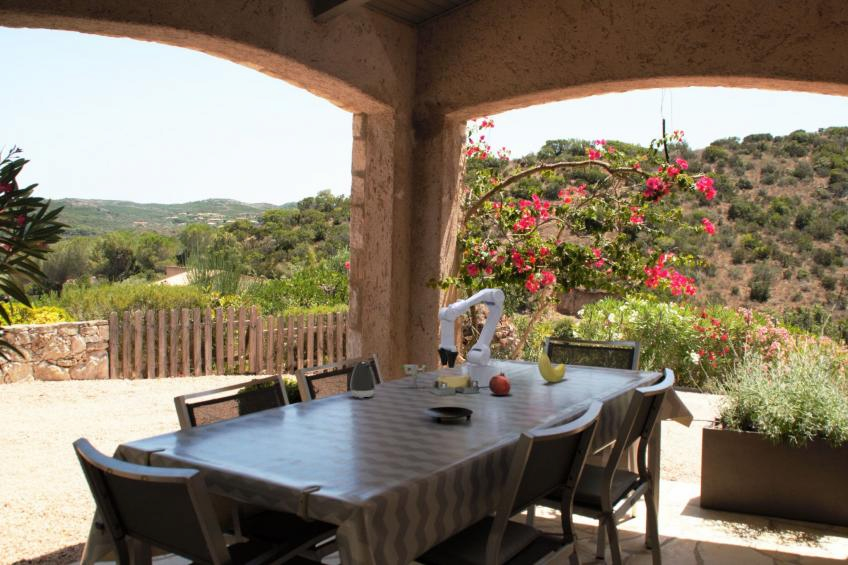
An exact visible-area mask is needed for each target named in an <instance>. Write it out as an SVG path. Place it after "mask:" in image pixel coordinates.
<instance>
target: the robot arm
mask: <svg viewBox="0 0 848 565" xmlns="http://www.w3.org/2000/svg"><path fill="white" fill-rule="evenodd" d="M505 298H506V296H505V294H504V291H503V290H502V289H500V288H489V287H488V288H487V287H486V288H484V289H481V290H479V291H478V292H477V293H475V294H474V295H472V296H470V297H469V298H467V299H459V298H458V299H456V301H455V302H454V303H452V304H451V303H450V304H448V306H447V307H446V306H444V307H441V309H440V310H439V312H438V314H437V315H438V316H437V317H438V319H439V321H440V343H439V345H438V348H439V349H436V351H437V353H438V356H439V359H440V363H441V366H448V368H449V369H454V368H455V363H456V359H457V358H458V355H459V353H460V352H459V351H457V347H456V345H455V321H456V320H457V318H458V317H459V316H461V315H463V314H464V313H467V312H468V311H469V308H470V307H472V306H474V305H476V304H479V303H481V302H483V304H484V305H486V307H487V308H488V310H489V312H488V314H487V317H486V320H485V322H484V323H483V324H484V325H483V327H482V330H481V333H480V335H479V338H478V340H477V342H476V343H475V344H473V345H472V346H471V349H469V351H468V353H467V355H466V360H467V362H468V363H469V366H470V367H469V369H470V372H469V373H470V374H469V376H471V381H473V380H476V381H478V387H479V388H482V387H483V388H485V387H486V388H487V387H489V382H490V380H491V378H492V377H493V369H492V366H491V365H490V364H489V363H490V361H491V349H490V344H491V342H492V340H493V338H494V335H495V332H496V329H497V327H498V324H499V322H500V319H501V317H502V314H503V311H504V301H505ZM488 364H489V365H488Z"/></svg>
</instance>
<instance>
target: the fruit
mask: <svg viewBox="0 0 848 565" xmlns="http://www.w3.org/2000/svg"><path fill="white" fill-rule="evenodd" d="M505 375H506V374H505V372H503V371H501V372H500V374H498V375H494V376H492V378H491V380H490V382H489V386H488V388H489V390H490V392H492V393H493V396H494V395H495V396H503V395H504V396H506V395H508V394H509V393H510V391H511V381H510V379H509V378H508V377H506V376H505Z"/></svg>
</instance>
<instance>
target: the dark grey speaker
mask: <svg viewBox="0 0 848 565" xmlns="http://www.w3.org/2000/svg"><path fill="white" fill-rule="evenodd" d="M371 366H372V364H371V363H369V362H368V361H367V360H363V359H362V360H358V361H357V363H356V364H355V365H354V368H353V370H352V374H351V378H350V384H349V387H350V388H349V389H350V392H351V394H352V396H354V398H356V397H362V398H361V399H364V398H363V397H369V398H370V397H372V395H373V394H374V393H375V389H376V381H375V377H374V376H375V375H374V373H373V369H372V367H371Z"/></svg>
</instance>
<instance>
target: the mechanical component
mask: <svg viewBox="0 0 848 565" xmlns="http://www.w3.org/2000/svg"><path fill="white" fill-rule="evenodd" d="M409 368H410V370H409ZM402 370H404V373H405V374H406V375H411V378H412V388H413V389H417V380H418V375H423V374H424V373H425V370H427V365H424V364H422V367H421V368H420V367H419V364H404V365H402ZM419 371H422V372H419Z"/></svg>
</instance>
